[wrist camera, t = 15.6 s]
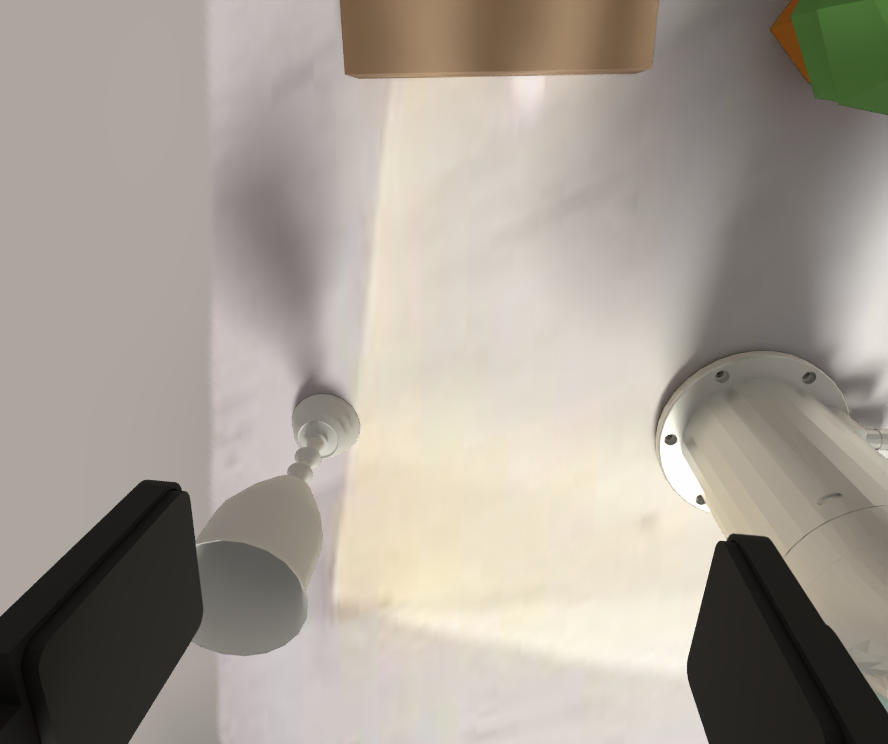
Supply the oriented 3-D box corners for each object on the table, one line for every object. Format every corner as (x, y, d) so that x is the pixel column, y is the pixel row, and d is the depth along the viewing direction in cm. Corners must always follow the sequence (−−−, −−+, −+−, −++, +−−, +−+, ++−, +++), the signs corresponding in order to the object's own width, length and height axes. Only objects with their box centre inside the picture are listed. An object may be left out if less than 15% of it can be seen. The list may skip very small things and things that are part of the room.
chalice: (302, 477, 47) (201, 670, 31) (261, 401, 45) (128, 564, 29) (389, 448, 46) (333, 635, 29) (351, 368, 44) (266, 521, 27)
